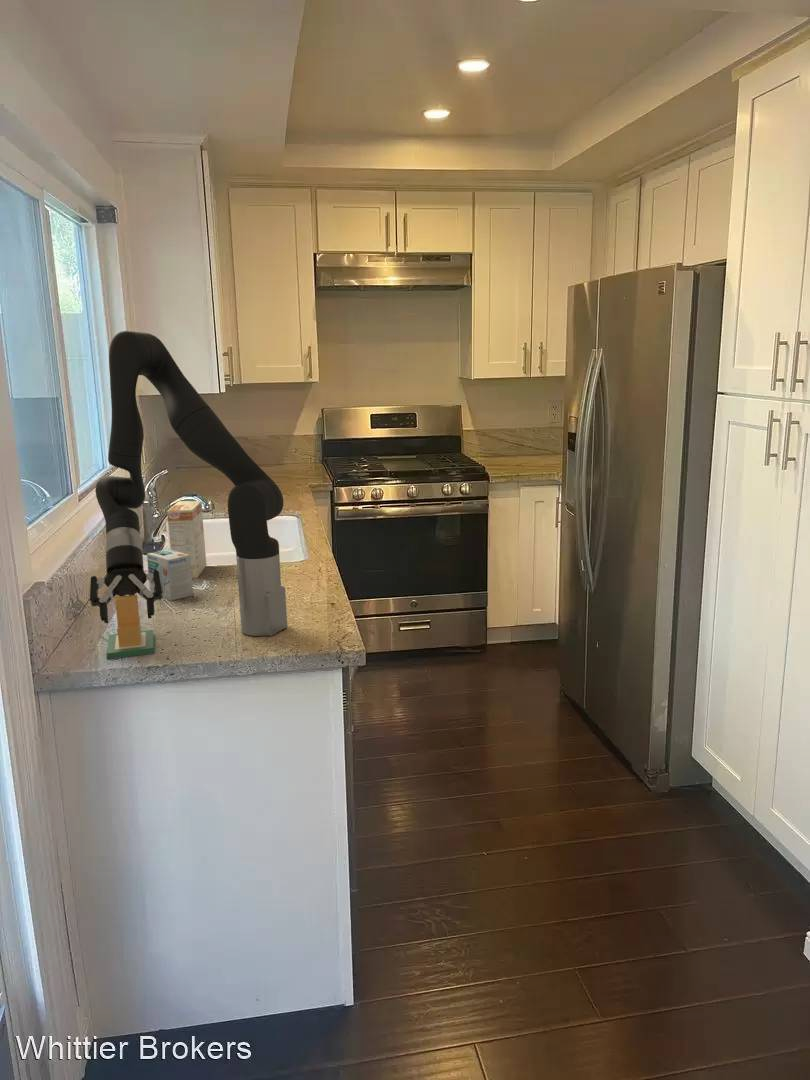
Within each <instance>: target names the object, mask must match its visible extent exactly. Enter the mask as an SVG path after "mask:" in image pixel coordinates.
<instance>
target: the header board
mask: <svg viewBox="0 0 810 1080" xmlns="http://www.w3.org/2000/svg"><path fill="white" fill-rule="evenodd" d="M154 635H155V634H154V629H145V630H141V645H136V646H128V647H119V640H118V633H111V634H109V635H108V640H107V647H106V659H107V660H112V659H118V658H119V659H120V658H126V657H127V658H128V657H129V658H130V657H137V656H142V655H152V654H155V651H154V649H155V648H154V645H155V643H154ZM111 658H112V659H111Z"/></svg>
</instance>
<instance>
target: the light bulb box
mask: <svg viewBox="0 0 810 1080" xmlns="http://www.w3.org/2000/svg"><path fill="white" fill-rule="evenodd" d="M146 558H147V570H148V574H150V573H153V572H154V571H155V570H157V571H159V576H160V582H161V589H162V597H163V598H162V599H166V600H168V601H174V600H179V599H183V598H187V597H191V596H193V595H194V589H193V579H192V574H191V561H190V555H188V554H184V553H181V552H177V551H174V550H171V549H170V548H168V549H163V550H158V551H154V552H148V553H146ZM148 582H149V584H148V585H149V591H150V592H151V593H154V592H156V590H155V584H153V583H151V582H150V580H148Z"/></svg>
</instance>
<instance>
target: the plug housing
mask: <svg viewBox="0 0 810 1080" xmlns="http://www.w3.org/2000/svg"><path fill="white" fill-rule="evenodd" d="M114 599H115V600H114V602H115V611H116V612H115V613H116V621H117V628H116V629H117V630H116V631H117V634H118V640H119V647H128V646H136V645H141V631H142V628H141V627H142V626H141V617H140V611H139V602H138V601H139V600H138V594H135V595H125V596H119V595H116V597H115V598H114Z"/></svg>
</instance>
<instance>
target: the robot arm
mask: <svg viewBox="0 0 810 1080" xmlns="http://www.w3.org/2000/svg"><path fill="white" fill-rule="evenodd" d="M108 370H109V371H108V372H109V387H110V390H109V391H110V401H111V403H110V405H111V406H110V407H111V423H110V424H111V427H110V435H109V436H110V437H109V444H108V457H107V460H108V463H109V464H110V466H113V467H116V468H117V469H122V470H124V471H126V472H128V473H129V477H123V476H113V475H106V476H102V477H101V478H99V480H98V481H97V483H96V484H95V497H96V499H97V504H98V505H99V507H100V509H101V512H102V515H103V517H104V518H103V519H104V521H105V535H106V536H105V546H104V547H105V563H106V564H105V565H106V566H105V567H106V568H105V569H106V574H105V577H101V578H100V577H99V578H98V577H97V576H96V575H93V576H91V577H90V584H89V585H90V587H89V590H90V591H89V601H90V605H91V606H92V607H98V608H99V617H100V620H101V622H103V623H104V624H109V610H108V605H110V603H111V602H112V601H113V600H114V599H115V597H117V596H127V595H139V596H140V597H141V598H143V599H144V600H146V610H147V618H148V620H149V619H152V616H153V617H154V616H155V613H156V611H155V602H156V601H159V600H160V601H161V600H162V599H164V598H163V597H162V589H161V582H160V576H159V571H157V570H155V571H154V572H153V573H150V574H149V573H146V572H145V567H144V554H143V553H144V550H143V543H142V538H141V531H140V529H141V528H140V518H139V515H138V514H137V512H136V511H134V509H139V508H140V507H141V506H142V505H143V504H144V502H145V499H146V490H145V484H144V480H143V474H142V473H143V472H142V456H143V455H142V454H143V453H142V452H143V446H144V425H143V421H142V417H141V414H140V411H139V408H138V403H137V395H136V392H137V384H138V379H139V376H143V377H144V378H146V379H147V380H148V381H149V382H150V383H151V384H152V385H153V387H154V388H155V389H156V390H157V391H158V392H159V394H160V396H161V397H162V399H163V401H164V405H165V409H166V415H167V418H168V421H169V425H170V426H171V428H172V429H173V431H174V433H175V434H176V435H177V436H178V437H179V439H180V440H181V442H183V444H184V445H185V446H186V448H187V449H188V450H189V451H190V452H191V453H193V454H194V455H195V456H196V457H198V458H199V459H201V460H202V461H204V462H205V463H207V464H209V465H210V466H212V467H214V468H215V469H217V470H218V471H219V472H221V473H222V474H223V475H225V477H227V479H229V481H231V482H232V484H233V485H234V486H233V488H232V489H231V490H230V492H229V494H228V498H227V513H228V516H227V517H228V523H229V531H230V532H229V533H230V538H231V541H232V544H233V547H234V549H235V554H236V556H235V557H236V559H235V560H236V573H237V585H238V587H237V588H238V600H239V613H240V614H239V615H240V627H241V633H243V634H244V635H247V636H253V637H262V636H263V637H264V636H269V637H271V636H272V637H273V636H274V635H276V634H278V633H280V632H282V631H283V629H284V630H286V629H288V617H287V616H288V615H287V614H288V613H287V612H288V611H287V597H286V587H285V586H282V577H281V561H280V560H281V559H280V544H279V541H278V539H276V537H275V538H274V537H271V536H270V535H269V528H268V521H270V520H272V519H274V518H277V517H278V516H279V515H280V514H281V513H282V511H283V509H284V497H283V493H282V491H281V489H280V487H279V486H278V485H277V484H276V482H275V481H274V480H273V479H272V478H271V477H270V476H269V474H267V473H266V472H265V471H264V470H263V469H262V468H261V467H260V466H259V465H258V464H257V463H256V462H255V461H254V460H253V459H252V457H250V455H248V453H247V452H246V451H245V449H244V448H243V447H242V445H241V444H240V443H239V442H238V441H237V439H236V438H235V437H234V436H233V435H232V433H231V432H230V431H229V429H227V427H226V426H225V425H224V423H223V421H222V420H221V419H220V418H219V417H218V415H217V414H216V413H215V412H214V410H213V409H212V408H211V407H210V406H209V405H208V403H206V401H205V400H204V399H203V397H202V396H201V395H200V394H199V392H198V391H197V390H196V388H195V387H194V386H193V385H192V384H191V382H190V381H189V380H188V379H187V378H186V376H185V375H184V374H183V372H182V370H181V369H180V367H179V366H178V364H177V363H176V361H175V359H174V358H173V356H172V355H171V353H170V352H169V350H168V349H167V347H166V345H165V344H164V343H163V342H162V341H161V340H160V339H159V338H158V336H155V335H154V334H152V333H149V332H148V333H147V332H140V331H134V330H133V331H132V330H123V331H119V332H118V333H116V334H115V335H114V336H113V337H112V339H111V340H110V343H109V349H108ZM132 509H133V510H132ZM149 580H150V582H151V583H153V584H155V590H156V592H154V593H151V592H150V589H148V587H147V586H146V585H145V583H146V582H147V581H149ZM103 585H105V586H106V587H107V588H106V589H105V590H104V593H103V594H102V596H101V597H99V590H100V589H101V588H102V587H103ZM285 628H286V629H285ZM281 630H282V631H281ZM279 631H280V632H279ZM277 632H278V633H277Z"/></svg>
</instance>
